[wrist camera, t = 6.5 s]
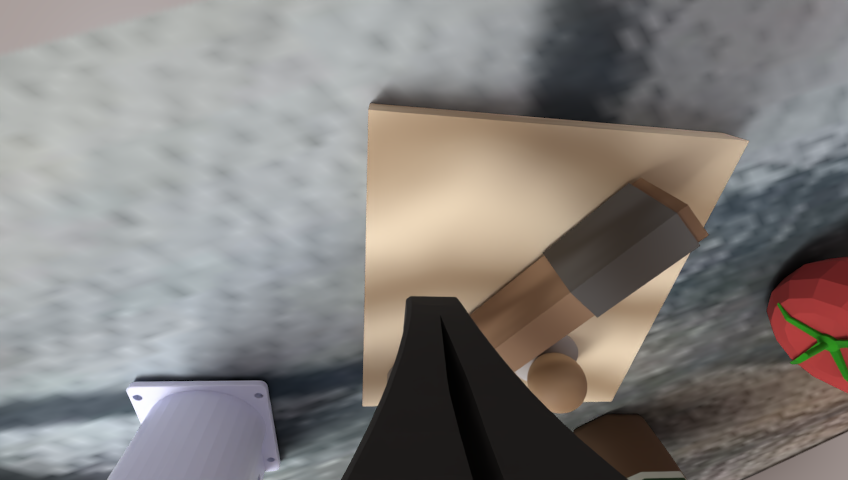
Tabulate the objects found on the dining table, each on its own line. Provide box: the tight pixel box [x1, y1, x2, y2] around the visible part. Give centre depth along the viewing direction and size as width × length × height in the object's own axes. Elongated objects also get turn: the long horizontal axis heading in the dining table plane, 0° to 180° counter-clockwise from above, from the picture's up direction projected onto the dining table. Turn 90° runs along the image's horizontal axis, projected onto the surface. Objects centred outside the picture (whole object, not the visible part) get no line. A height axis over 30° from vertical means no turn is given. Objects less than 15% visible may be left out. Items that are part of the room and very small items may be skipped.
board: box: [362, 103, 749, 413], centre depth 19 cm, size 18×17×5 cm
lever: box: [387, 178, 708, 382], centre depth 18 cm, size 18×3×3 cm, turn 136°
